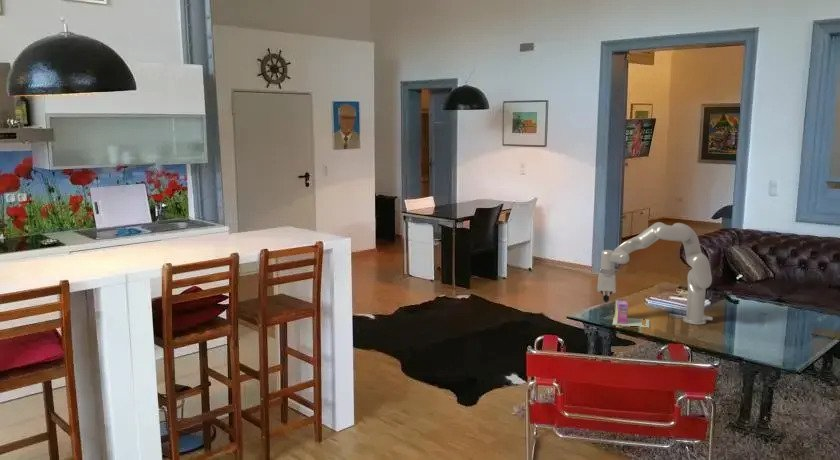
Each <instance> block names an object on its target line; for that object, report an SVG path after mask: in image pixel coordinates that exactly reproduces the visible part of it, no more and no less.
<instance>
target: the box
mask: <svg viewBox="0 0 840 460" xmlns="http://www.w3.org/2000/svg"><path fill="white" fill-rule="evenodd" d="M614 304H615V305H614V317H615V319H616V322H617V323H619V324H627V318H628V311H629V304H628V301H627V299H625V298H615V303H614Z"/></svg>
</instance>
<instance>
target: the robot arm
mask: <svg viewBox="0 0 840 460" xmlns="http://www.w3.org/2000/svg"><path fill="white" fill-rule="evenodd" d="M659 240H664V241H670V242H671V241H672V242H682V245H683V248H684V253H685V259H686V260H685V261H686V263H687V265H688V266H690V267H691V269H690V270H689V271H688V273H687V295H686V309H685V310H686V312H685V313H686V314H685V316H684V317H682V320H683V322H684V323H687V324H691V325H696V326H697V325H704V324H707V321H713V316H710V315H705V307H706V306H705V305H706V303H705V302H706V289H708V288H709V287H710V286H711V285H712V284H713V283H712V282H713V277H712V271H711V265H710V260H709V259H708V257H707V256H706V255H705V254H704V253H703V252H702V249H701V243H700V240H699V237H698V235H697V233H696V232H695V231H694V230H693V228H691V227H690V226H689V225H687V224H685V223H681V222H676V223H673V224H672V225H670V224H669V225H668V224H666V223H663V222H662V221H661V222H660V221H658V222H655V223H652V225H650V226H649V227H647V228H646V229H645V230H643V231H642V232H640V233H639V234H638V235H636V236H634V237H632V238H630V239H627V240H625V241H624V242H623V243H621V244H620V245H618V246H617V247H616V248H614V250H610V249H603V250H601V252H600V256H601V257H600V268H597V269H598V270H597V272H599V273H598V278H597V289H596V292H598V293H601V294H602V295H603V301H604V303H608V302H609V301H610V295H612V294H615V293H617V289H616V288H617V286H616V285H617V281H616V280H617V277H616V274H615V264H618V265H625V264H628V263H629V262H630V254H631V253H632V252H635V251H637V250H642V249H646V248H648V247H650V246H651V245H653V244H654V243H656V242H657V241H659ZM606 292H607V293H606Z"/></svg>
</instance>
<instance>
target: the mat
mask: <svg viewBox="0 0 840 460" xmlns="http://www.w3.org/2000/svg"><path fill="white" fill-rule="evenodd" d="M612 318H613V319H612V326H619V325H621V326H620V327H630V326H640V327H639V328H641V327H648V328H647V329H650V319H645V318H634V317H627V324H619V323H617V322H616V319H615V316H613V317H612ZM643 319H645V320H646V324H645V325H646V326H644V325H642V322H641V321H642V320H643Z"/></svg>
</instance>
